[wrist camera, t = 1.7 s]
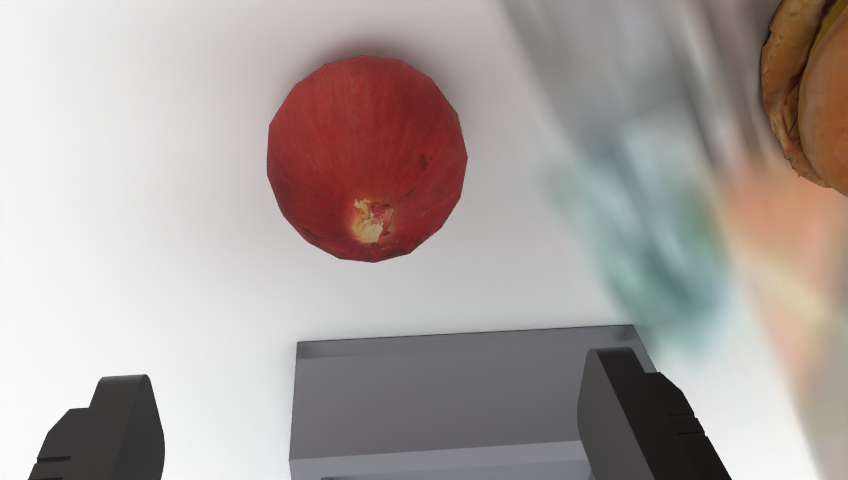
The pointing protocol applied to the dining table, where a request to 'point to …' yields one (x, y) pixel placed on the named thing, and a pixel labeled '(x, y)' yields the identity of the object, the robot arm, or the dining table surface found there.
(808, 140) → the burger
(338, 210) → the onion
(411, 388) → the bin
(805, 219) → the dining table surface
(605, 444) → the robot arm
